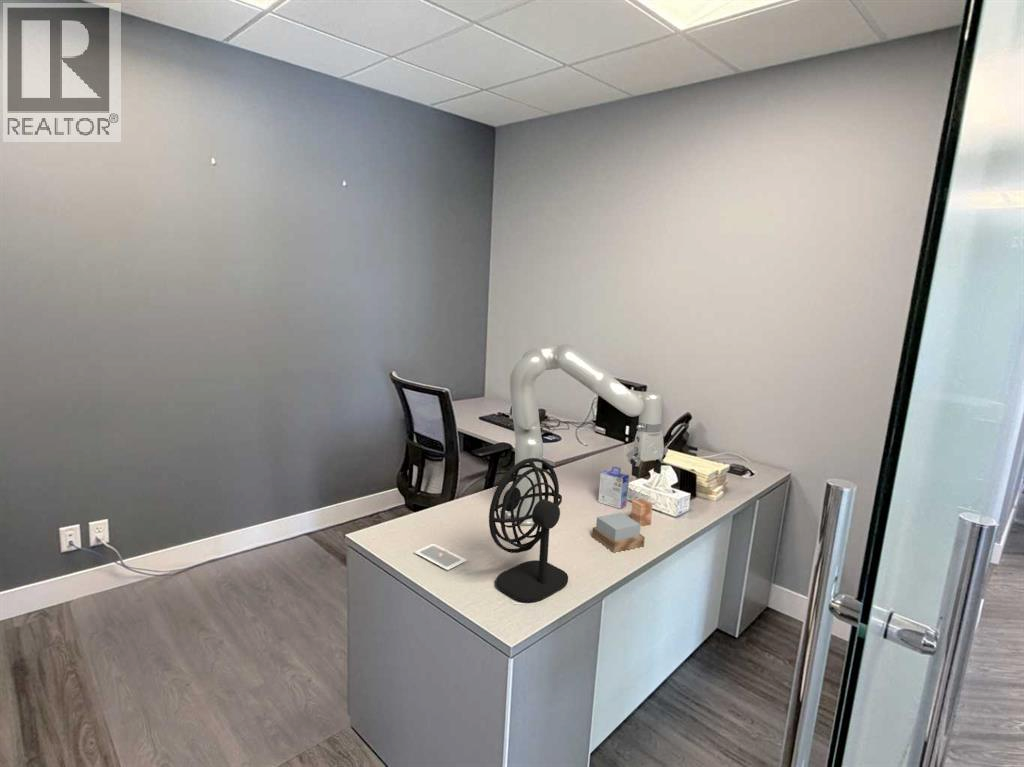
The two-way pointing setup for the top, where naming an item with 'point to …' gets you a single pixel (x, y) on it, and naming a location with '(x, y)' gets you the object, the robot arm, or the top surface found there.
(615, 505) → the ink cartridge box
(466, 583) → the top surface
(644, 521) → the terracotta block
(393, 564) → the top surface
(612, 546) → the tower base block
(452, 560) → the touchpad
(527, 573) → the desk fan
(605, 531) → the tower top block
